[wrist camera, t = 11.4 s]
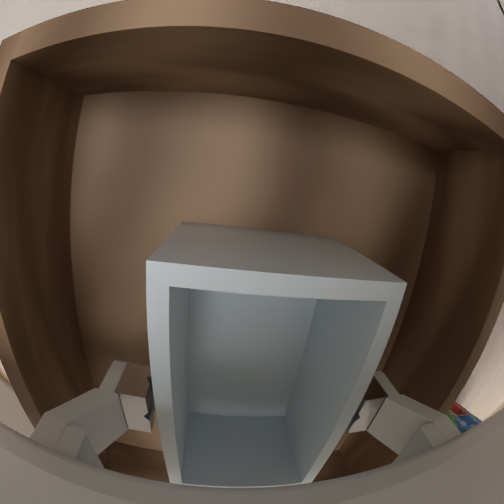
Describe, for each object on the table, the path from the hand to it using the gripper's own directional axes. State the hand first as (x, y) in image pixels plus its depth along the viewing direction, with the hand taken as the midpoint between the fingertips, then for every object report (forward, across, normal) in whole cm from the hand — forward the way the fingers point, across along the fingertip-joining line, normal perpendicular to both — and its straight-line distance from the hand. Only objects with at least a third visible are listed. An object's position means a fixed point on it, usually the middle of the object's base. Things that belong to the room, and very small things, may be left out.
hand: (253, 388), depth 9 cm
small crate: (+3, 0, 0) cm, 3 cm away
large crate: (+4, 0, 0) cm, 4 cm away
